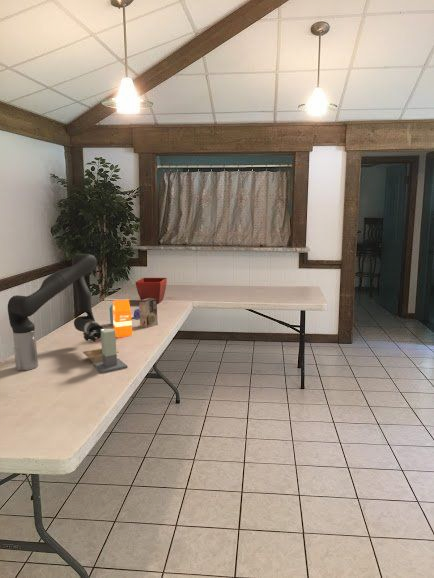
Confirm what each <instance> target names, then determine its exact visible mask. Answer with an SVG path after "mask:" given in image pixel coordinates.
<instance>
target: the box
mask: <svg viewBox="0 0 434 578" xmlns="http://www.w3.org/2000/svg"><path fill="white" fill-rule="evenodd" d="M110 328H111V329H109V328H104V330H101V338H100V340H101V348H102V357H103V364H104V365H105V366H106V367H110V366H115V365H117V359H118V355H117V354H118V353H116V350H117V340H116V338H117V337H116V336H115V331H114V328H112V327H110Z"/></svg>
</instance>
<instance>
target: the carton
mask: <svg viewBox="0 0 434 578" xmlns="http://www.w3.org/2000/svg"><path fill="white" fill-rule="evenodd" d="M82 353H83V355H85V357H86V358H87V359H89V360H91V362H92V364H93V363H97V362H102V361H103V357H102V347H101V348H96V349H91V350H86V351H82ZM119 353H120V351H119V350H118V349H116V354H119Z"/></svg>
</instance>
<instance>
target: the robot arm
mask: <svg viewBox="0 0 434 578" xmlns="http://www.w3.org/2000/svg"><path fill="white" fill-rule="evenodd" d="M97 263H98V262H97V257H96V256H95V255H93V254H89V253H76V254H74V255H73V257H72V260H71V266H69V267H65V268H63V269H62V268H61V269H59V270H57V271H54V272H53V273H52V274H50V275H48V276H47V277H46V278H44V280H43V281H42V283H41V285H40V287H39V289H37V290H36V291H35V292H32V294H29V295H27V296H26V295H19V294H18V295H17V294H16V295H12V297H10V298H9V299H8V302H7V313H8V314H7V315H8V320H9V325H10V327H11V329H12V336H13V353H14V354H13V355H14V363H15V368H16V370H17V371H18V370H19V371H30V370H33V369H36V368H38V367H39V360H38V359H39V358H38V349H37V340H36V339H37V337H36V330H35V329H36V328H35V324H34V323H33V322H32V321H31V320H30V318H29V317H31V316H33V315H34V314H35V313H36V312H38V310H40V309H41V308H42V307H43V306H44V305H45V304H46V303H48V301H50V300H51V299H53V298H55V296H57V295H58V294H60V293H61V292H63V291H64V290H65V289H66V288H68V287H69V286H70V285H72V284H73V283H75V288H76V304H77V305H76V306H77V307H76V308H77V311H78V312H81V313H85V314H86V315H82V316H81V315H80V316H77V317H75V318H74V321H73V326H74V328H75V329H76V330H77V331H78V332H83V333H82V334H83V335H82V336H83V337H82V338H83V339H84V340H85V341H91V342H93V343H95V342H96V340H99V339H101V330H105V328H104V327H103V326H102V325H101V324H99V323H98V322H96V320H95V317H94V313H93V309H92V294H91V291H90V288H89V287H88V285H87V282H86V279H85V276H86V275H87V274H89V273H91V272H92V271H93V270H95V268H96V266H97ZM111 328H112V327H110V328H108V329H111ZM113 330H114V329H113ZM114 331H115V330H114Z"/></svg>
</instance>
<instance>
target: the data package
mask: <svg viewBox="0 0 434 578" xmlns="http://www.w3.org/2000/svg"><path fill="white" fill-rule="evenodd" d="M109 319H110V325H112V326H114V324H113V304H111V305H110V306H109Z"/></svg>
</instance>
